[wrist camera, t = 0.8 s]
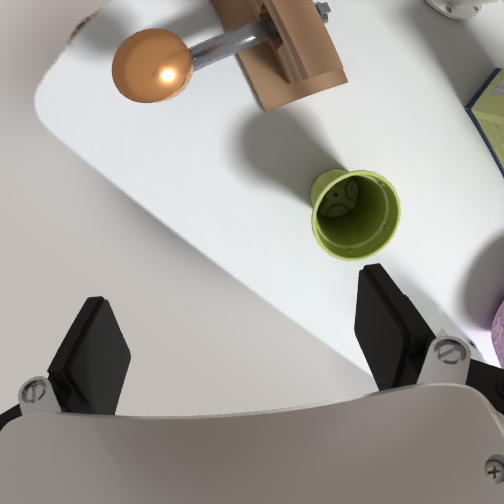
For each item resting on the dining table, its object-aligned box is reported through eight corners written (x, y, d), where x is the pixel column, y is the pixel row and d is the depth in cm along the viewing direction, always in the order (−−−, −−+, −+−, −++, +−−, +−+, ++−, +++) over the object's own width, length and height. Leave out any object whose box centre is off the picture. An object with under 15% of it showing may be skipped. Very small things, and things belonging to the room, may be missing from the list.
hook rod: (303, -4, 25) (328, -37, 16) (326, 42, 28) (360, 24, 19) (136, 64, 28) (100, 54, 19) (159, 111, 31) (130, 117, 22)
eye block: (289, -35, 25) (309, -77, 15) (345, 82, 32) (388, 79, 22) (206, -8, 26) (195, -46, 16) (264, 111, 33) (277, 116, 23)
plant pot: (287, 165, 36) (302, 185, 28) (362, 146, 35) (395, 162, 28) (305, 236, 40) (322, 271, 33) (374, 217, 40) (404, 247, 32)
